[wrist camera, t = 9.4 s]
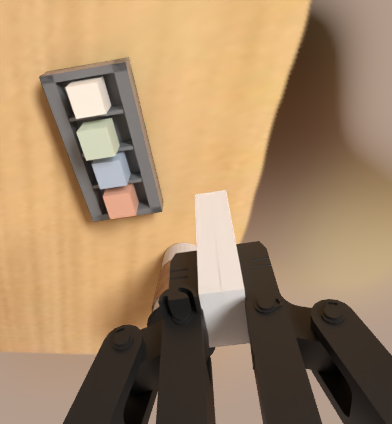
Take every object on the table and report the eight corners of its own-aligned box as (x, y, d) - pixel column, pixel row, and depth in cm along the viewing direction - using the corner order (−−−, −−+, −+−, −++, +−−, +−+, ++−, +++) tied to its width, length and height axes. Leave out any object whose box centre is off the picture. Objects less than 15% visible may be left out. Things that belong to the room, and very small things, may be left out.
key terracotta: (107, 184, 45) (102, 196, 42) (132, 180, 45) (129, 192, 42) (114, 206, 47) (110, 219, 44) (138, 202, 46) (136, 215, 44)
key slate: (97, 153, 43) (91, 164, 40) (123, 149, 43) (119, 160, 40) (105, 177, 44) (100, 189, 42) (130, 173, 44) (127, 185, 42)
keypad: (47, 71, 39) (39, 76, 37) (128, 57, 38) (125, 61, 36) (97, 211, 49) (93, 221, 46) (163, 201, 48) (162, 211, 46)
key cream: (73, 80, 38) (65, 87, 36) (102, 75, 38) (96, 82, 36) (83, 110, 40) (76, 118, 37) (111, 105, 40) (106, 114, 37)
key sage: (83, 122, 40) (76, 132, 37) (111, 117, 39) (106, 127, 37) (92, 149, 41) (86, 160, 39) (119, 145, 41) (115, 156, 38)
